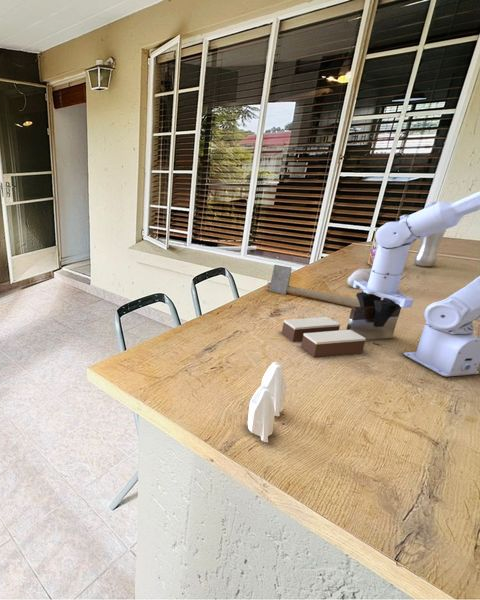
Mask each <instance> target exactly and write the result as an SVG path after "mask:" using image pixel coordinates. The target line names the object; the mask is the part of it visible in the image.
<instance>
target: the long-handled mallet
mask: <svg viewBox="0 0 480 600" xmlns="http://www.w3.org/2000/svg"><path fill="white" fill-rule="evenodd" d="M291 274H292V266H287V265H286V266H285V265H279V264H273V270H272V275H271V280H270V281H269V282H267V283H266V288H268V292H272V293H276V294H281V295H287V294H288V293H290V294H294V295H299V296H302V297H307V298H310V299H311V298H312V299H316V300H319V301H324V302H329V303H333V304H338V305H343V306H347V307H351V308H352V307H360V303H359V300H358V298H354V297H350V296H344V295H339V294H333V293H328V292H323V291H318V290H313V289H307V288H302V287H296V286H291V285H290V281H291Z"/></svg>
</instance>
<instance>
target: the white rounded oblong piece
mask: <svg viewBox="0 0 480 600" xmlns="http://www.w3.org/2000/svg"><path fill="white" fill-rule="evenodd" d="M371 269H372V268H357V269H355V270H354V271H353V273H351V274H350V276H348V278H347V280H346V283H347V285H348V286H350V287H351V288H354V287H353V284H354V280H363V281H366V282H368V281H369V277H370V273H371Z"/></svg>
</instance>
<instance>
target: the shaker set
mask: <svg viewBox="0 0 480 600" xmlns="http://www.w3.org/2000/svg"><path fill="white" fill-rule="evenodd" d="M286 392H287V383H286V380H285V377H284V372H283V369H282V367H281V365H280V364H279V362H278V361H273V362H272V363H271V364H270V365H269V366H268V368H267V369H266V371H265V373H264V375H263V376H262V379H261V385H260V386H259V387H258V388H257V389H256V391H255V392H254V394H253V396H252V397H251V398H250V401H249V406H248V414H247V415H248V416H247V423H246V424H247V429H248V430H249V432H250V433H251V434H254V435H255V436H258V437H259V438H260V441H262V442H263V443H269V436H271V435H272V434H273V431H274V422H275V417H280V415H281V414H280V413H281V412H282V411H283V410H284V405H285V399H286Z"/></svg>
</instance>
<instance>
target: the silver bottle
mask: <svg viewBox="0 0 480 600" xmlns="http://www.w3.org/2000/svg"><path fill="white" fill-rule="evenodd" d="M446 232H447V229H445V230H442V231H440V232H437V233H434V234H432V235H429V236H426V237H423V238H421V242H420V246H419V249H418V251H417V253H416V255H415V257H414V260H413V261H414V264H415V265H417V266H421V267H433V266H434V265H435V264H436V263H437V260H438V253H439V248H440V245H441V242H442V239H443V237H444V236H445V233H446Z"/></svg>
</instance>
